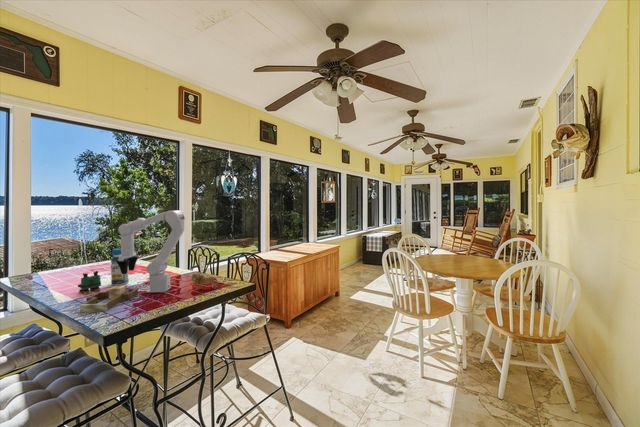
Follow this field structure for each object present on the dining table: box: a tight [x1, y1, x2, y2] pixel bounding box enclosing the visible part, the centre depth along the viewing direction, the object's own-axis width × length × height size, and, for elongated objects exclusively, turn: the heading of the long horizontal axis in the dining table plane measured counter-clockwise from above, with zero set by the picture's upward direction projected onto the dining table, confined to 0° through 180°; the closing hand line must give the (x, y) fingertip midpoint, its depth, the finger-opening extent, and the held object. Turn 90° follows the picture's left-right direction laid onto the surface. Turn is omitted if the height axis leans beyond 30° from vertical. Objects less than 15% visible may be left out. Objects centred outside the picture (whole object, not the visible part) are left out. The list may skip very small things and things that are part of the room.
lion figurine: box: [191, 272, 221, 290], centre depth 159 cm, size 15×5×9 cm, turn 113°
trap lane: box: [79, 286, 139, 313], centre depth 137 cm, size 16×26×3 cm, turn 9°
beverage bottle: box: [110, 247, 129, 286], centre depth 166 cm, size 8×8×20 cm
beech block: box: [108, 285, 127, 300], centre depth 143 cm, size 5×5×5 cm
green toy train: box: [77, 270, 102, 295], centre depth 151 cm, size 9×11×10 cm
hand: (128, 272), depth 154 cm, fingers open, 7 cm apart
